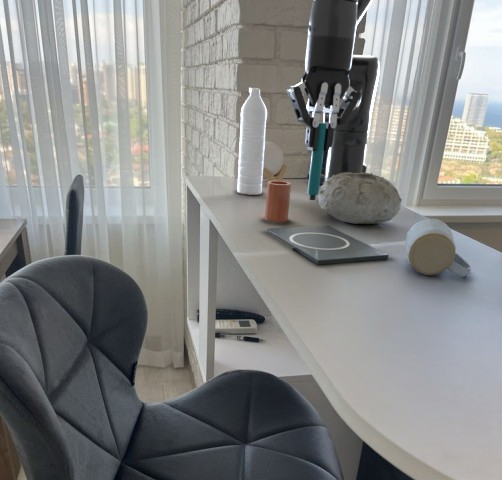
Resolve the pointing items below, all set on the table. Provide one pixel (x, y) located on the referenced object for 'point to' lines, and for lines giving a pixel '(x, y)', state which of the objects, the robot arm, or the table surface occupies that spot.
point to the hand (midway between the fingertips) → (318, 150)
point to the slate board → (327, 245)
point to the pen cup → (277, 201)
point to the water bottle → (252, 144)
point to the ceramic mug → (433, 249)
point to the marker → (317, 163)
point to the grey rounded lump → (359, 198)
